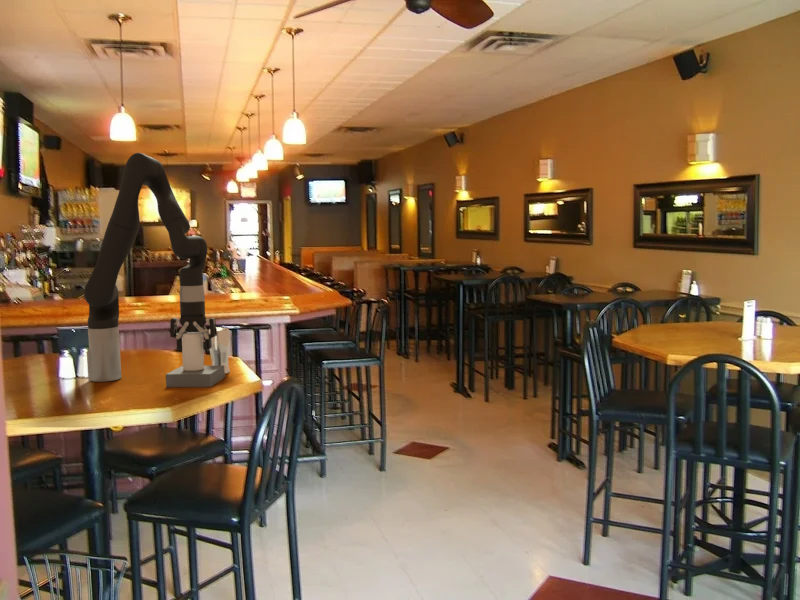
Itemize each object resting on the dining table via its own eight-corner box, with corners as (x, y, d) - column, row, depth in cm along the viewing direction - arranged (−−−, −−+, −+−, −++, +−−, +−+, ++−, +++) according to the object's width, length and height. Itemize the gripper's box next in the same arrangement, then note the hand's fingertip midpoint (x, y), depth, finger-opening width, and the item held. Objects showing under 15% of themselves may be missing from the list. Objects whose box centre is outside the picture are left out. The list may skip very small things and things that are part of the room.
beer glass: (220, 370, 245) (218, 327, 243) (235, 371, 241) (233, 328, 240) (205, 373, 239) (203, 329, 237) (220, 375, 235) (218, 330, 234)
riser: (166, 387, 219) (165, 374, 218) (183, 377, 233) (182, 365, 232) (210, 386, 218) (210, 374, 218) (224, 377, 232) (224, 365, 231)
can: (179, 371, 223) (177, 333, 222) (190, 367, 229) (188, 330, 228) (197, 372, 221) (195, 334, 220) (208, 368, 227) (206, 331, 226)
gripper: (165, 301, 219) (167, 352, 221) (210, 300, 218) (212, 352, 220) (174, 298, 227) (176, 348, 228) (218, 298, 226) (220, 348, 227)
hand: (194, 350), depth 224 cm, fingers open, 8 cm apart
